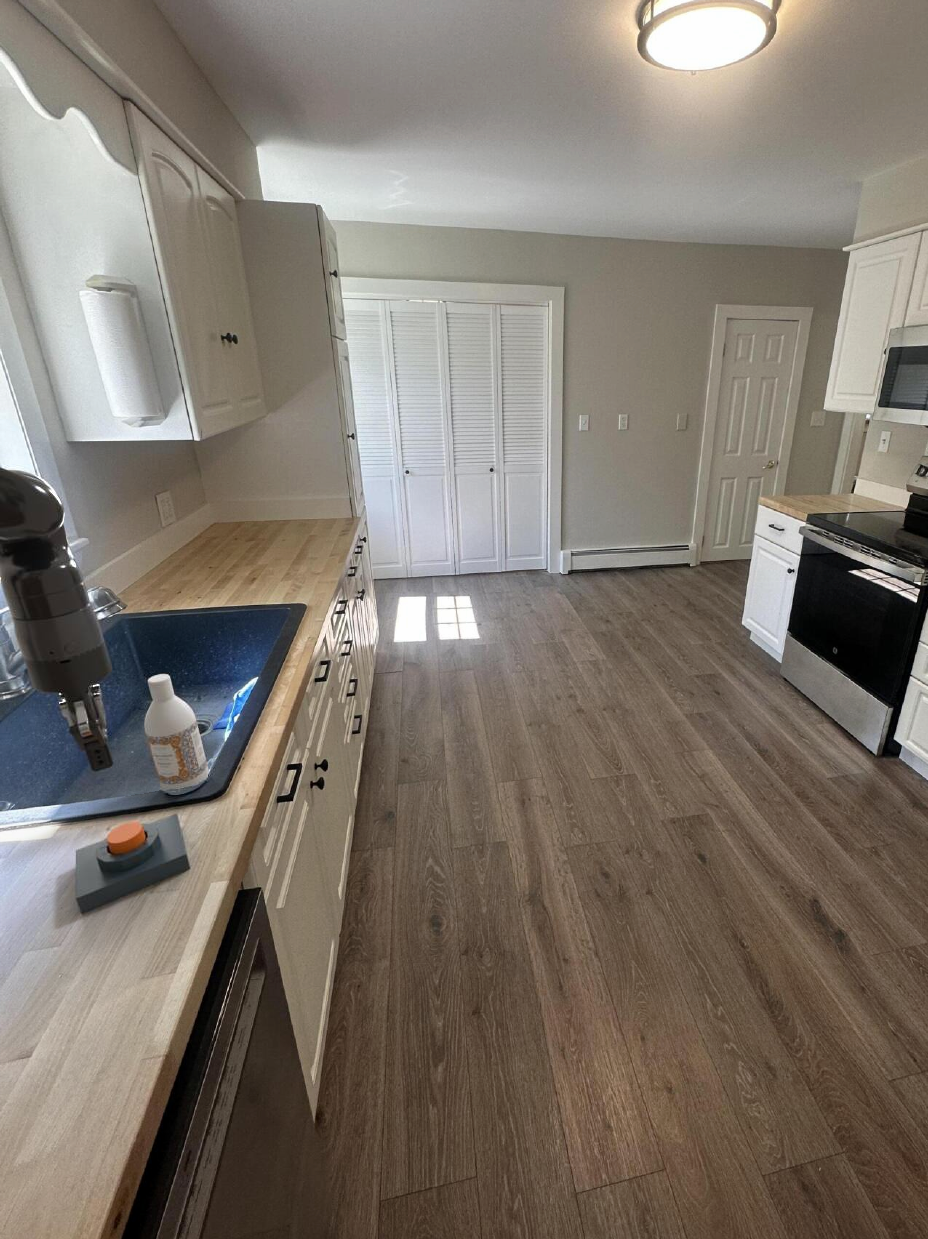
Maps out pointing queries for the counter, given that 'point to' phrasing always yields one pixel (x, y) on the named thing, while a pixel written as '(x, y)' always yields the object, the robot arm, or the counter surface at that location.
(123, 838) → the button
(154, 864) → the button base
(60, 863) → the counter surface
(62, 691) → the robot arm
